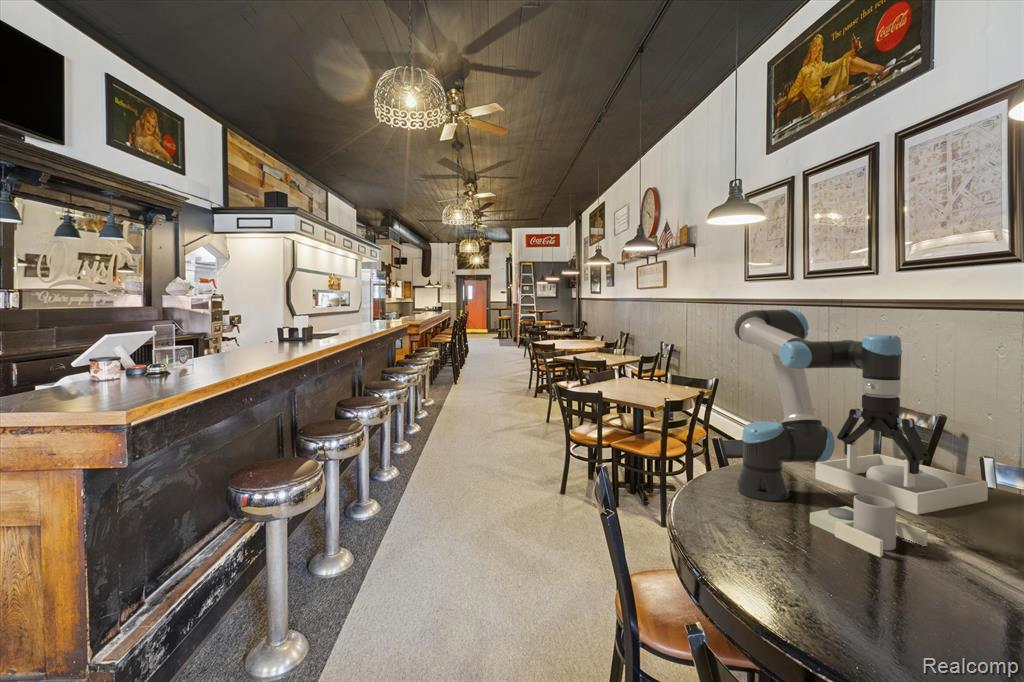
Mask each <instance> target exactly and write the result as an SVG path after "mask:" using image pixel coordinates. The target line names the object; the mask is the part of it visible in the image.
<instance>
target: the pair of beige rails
mask: <svg viewBox="0 0 1024 682" xmlns="http://www.w3.org/2000/svg"><path fill="white" fill-rule="evenodd" d="M853 521H854V508H852V507H850V506H847V505H845V506H840V507H830V508H827V509H824V510H823V509H821V510H817V511H812V512H809V524H811V525H813V526H815V527H818V528H820V529H822V530H824V531H826V532H829V533H830V534H832V535H834V538H837V539H839V540H842V541H844V542H846V543H848V544H850V545H852V546H855V547H857V548H858V549H861V550H863V551H865V552H867V553H869V554H871V555H874V556H877V557H878V558H883V557H884V550H883V540H881V539H878V538H876V537H874V536H871V535H869V534H867V533H864V532H862V531H860V530H857V529H855V528H853ZM896 535H897V536H896V537H898V536H899V537H898V538H900V539H903V538H904V539H903V540H906V539H907V540H906V541H908V540H910V541H909V542H911V541H912V542H911V543H913V542H914V543H913V544H915V543H917V544H916V545H918V544H920V545H922V546H921V547H923V546H927V547H928V530H926V529H923V528H920V527H918V526H916V525H912V524H909V523H907V522H905V521H901V520H899V519H897V518H896ZM920 545H919V546H920ZM882 556H883V557H882Z"/></svg>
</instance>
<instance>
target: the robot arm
mask: <svg viewBox="0 0 1024 682" xmlns="http://www.w3.org/2000/svg"><path fill="white" fill-rule="evenodd" d="M733 329H734V333H735V335H736V337H737V338H738V339H739V340H740V341H742V342H744V343H746V344H749V345H756V346H758V347H760V348H762V349H764V350H766V351H768V352H770V353H771V354H772V359H773V364H774V368H775V375H776V378H777V379H776V380H777V385H778V389H779V395H780V400H781V404H782V410H783V415H784V418H783V420H781V421H780V422H777V421H765V420H764V421H763V420H762V421H755V422H751V423H748V424H746V425H745V426H744V427H743V430H742V438H741V439H742V468H741V472H740V475H739V478H738V480H737V482H736V489H737V491H738V492H739V493H740V494H742V495H744V496H747V497H749V498H752V499H757V500H762V501H766V502H767V501H769V502H779V501H780V502H781V501H785V500H788V499H789V497H790V489H789V487H788V485H787V482H786V478H785V476H784V471H783V469H784V468H783V465H784V464H783V463H809V464H816V463H817V462H825V461H829V460H830V459H831V457H832V456H833V454H834V451H835V444H836V443H835V442H836V441H835V437H834V434H833V432H832V431H831V429H830V428H829V427H826V426H824V425H823V422H822V420H821V418H819V417H817V416H816V415H815V412H814V408H813V407H814V405H813V404H812V399H811V394H810V389H809V384H808V379H807V375H806V371H805V369H844V368H845V369H859V370H862V375H861V376H862V378H861V379H862V380H861V381H862V382H861V385H862V386H861V388H862V389H861V392H862V393H863V394H862V395H861V408H862V410H861V409H860V408H851V409H849V412H848V417H847V419H846V421H844V424H843V426H842V428H841V429H840V430H839V433H838V434H837V436H836V439H837V440H840V441H842V442H843V443H844V454H845V456H846V458H847V468H849V469H852V468H857V457H858V443H856V441H857V440H859V439H860V438H861V437H862V436H863V435H864V434H865V433H867V432H868V431H869V430H871V431H878V432H881V433H886V434H887V435H888V436H889V437H891V438H892V440H893V441H894V443H896V445H897V446H898V448H899V449H900V450H901V452H902V453H903V454H904V455H905V456H906V459H903V460H904V486H906V487H910V486H915V474H918V473H919V464H920V462H921V461H927V460H930V459H931V457H930V455H929V452H928V450H927V448H926V446H925V444H924V443H923V441H922V438H921V436H920V435H919V433H918V431H917V429H916V423H915V419H914V418H912V417H911V418H910V417H909V418H901V417H900V415H899V414H900V410H901V398H900V395H901V383H902V382H901V381H902V380H901V375H902V371H901V370H902V354H903V350H902V341H901V340H902V339H901V337H900V336H899V335H896V334H895V335H894V334H866V335H864V336H863V339H862V340H860V341H859V340H858V341H857V340H853V339H841V340H830V341H821V340H820V341H813V340H812V341H810V340H806V339H807V338H808V336H809V330H810V329H809V323H808V320H807V318H806V316H805V315H804V314H803V313H802V312H801V311H799V310H795V309H785V308H783V309H762V310H761V309H759V310H758V309H754V310H750V311H747V312H745V313H743V314H741V315H740V316H739V317H738V318H737V319H736V320H735V323H734V328H733ZM860 418H862V420H863V421H862V422H861V423H860V424H859V425H858V427H856V425H857V424H858V421H859V420H860ZM899 426H900V427H901V428H902V429H901V428H900V427H899ZM855 427H856V428H855ZM854 428H855V429H854ZM853 429H854V430H853ZM903 432H904V434H903Z"/></svg>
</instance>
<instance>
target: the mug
mask: <svg viewBox="0 0 1024 682" xmlns="http://www.w3.org/2000/svg"><path fill="white" fill-rule="evenodd" d="M853 509H854V521H853V528H855V529H857V530H860V531H862V532H864V533H867V534H869V535H871V536H874V537H876V538H878V539H881V540H883V551H893V550H895V549H896V548H897V536H896V519H897V507H896V504H895V503H894V502H892V501H890V500H888V499H885V498H882V497H878V496H873V495H860V494H856V495H854V497H853Z"/></svg>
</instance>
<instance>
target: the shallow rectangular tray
mask: <svg viewBox="0 0 1024 682" xmlns="http://www.w3.org/2000/svg"><path fill="white" fill-rule="evenodd" d="M904 460H905V459H900V458H897V457H892V456H888V455H884V454H881V453H880V454H879V453H875V454H868V455H861V456H857V468H852V469H849V468H847V457H846V458H841V459H833V460H827V461H825V462H815V478H814V479H815V480H817V481H820V482H823V483H825V484H829V485H832V486H834V487H836V488H840V489H843V490H845V489H846V491H848V490H849V491H848V492H852V493H855V494H856V495H873V496H878V497H882V498H885V499H888V500H890V501H892V502H894V503H895V504H896V509H899V510H904V511H905V512H908V513H911V514H914V515H922V514H927V513H932V512H938V511H942V510H948V509H953V508H957V507H962V506H968V505H973V504H978V503H982V502H988V495H989V494H988V492H989V489H988V488H989V482H988V480H987V481H986V480H983V479H980V478H974V477H970V476H966V475H963V474H958V473H954V472H951V471H948V470H943V469H939V468H935V467H931V466H927V465H923V464H920V463H919V470H922V471H923V472H924V473H926V474H930V475H933V476H935V477H937V478H939V479H941V480H943V481H944V482H945V483H946V484H947V488H943V489H937V490H932V491H926V492H921V493H914V492H911V491H908V490H904V489H901V488H898V487H895V486H891V485H888V484H885V483H882V482H879V481H875V480H872V479H869V478H866V477H865V476H862V475H860V474H864V473H866V472H867V470H868V469H869V468H871V467H873V466H878V465H895V466H903V467H904ZM858 474H859V475H858Z"/></svg>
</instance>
